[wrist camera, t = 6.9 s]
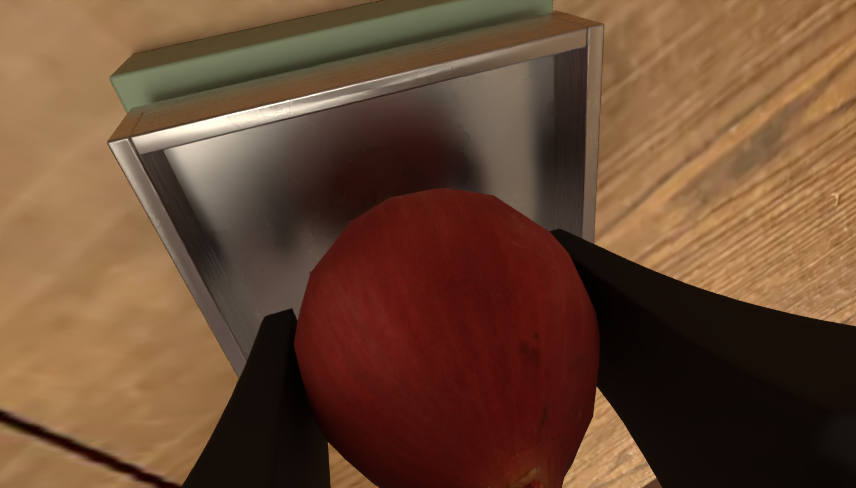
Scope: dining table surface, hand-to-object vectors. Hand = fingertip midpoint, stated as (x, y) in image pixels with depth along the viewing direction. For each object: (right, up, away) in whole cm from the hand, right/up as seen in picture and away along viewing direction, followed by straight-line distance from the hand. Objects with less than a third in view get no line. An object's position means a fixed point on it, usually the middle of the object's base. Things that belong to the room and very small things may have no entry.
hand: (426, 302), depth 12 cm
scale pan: (-1, +2, +3) cm, 3 cm away
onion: (-1, +2, +2) cm, 2 cm away
